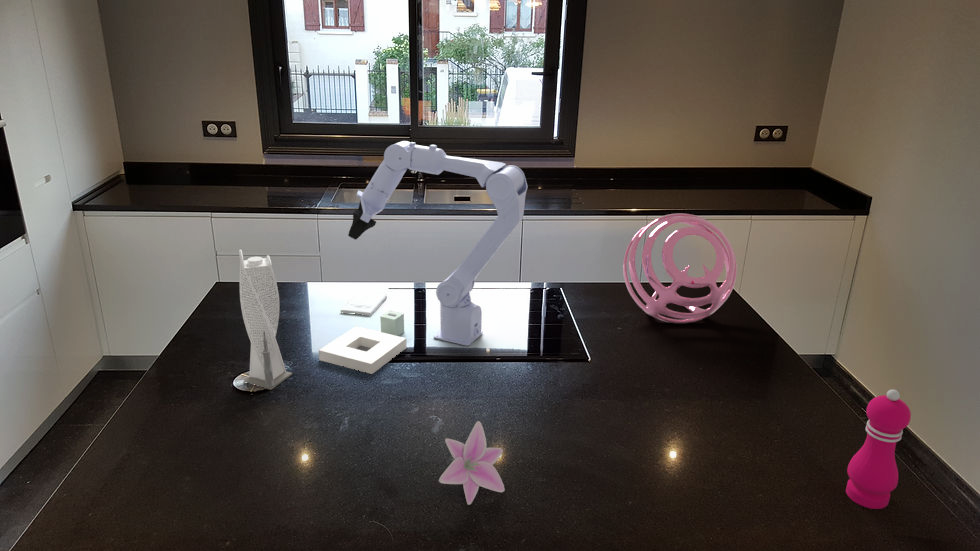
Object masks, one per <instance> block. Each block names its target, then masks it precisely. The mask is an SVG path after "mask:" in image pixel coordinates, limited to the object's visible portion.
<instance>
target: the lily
mask: <svg viewBox="0 0 980 551" xmlns="http://www.w3.org/2000/svg"><path fill="white" fill-rule="evenodd" d="M444 441H445V444H446V446H447V448H448V451H449V453H450V454H451V456H452V458H453V461H452V462H451V463H450V464H449V466H448V467H446V469H445V470H444V472H443V473H442V474H441V475H440V476H439V479H438V482H439V483H440V484H444V485H446V484H447V485H462V486H463V491H464V492H463V493H464V495H465V499H466V500H465V501H466V503H467V505H468V506H469V505H471V504H472V503H473V502H474V499H475V498H476V495H477V494H478V491H479V488H480V487H482V488H483V489H488V490H490V491H494V492H497V493H503V492H505V490H506V489H505V485H504V483H503V480H502V478H501V476H500V474H499V472H498V470H497V469H496V467H494V464H495V463H497V461H498V460H499V458H500V457H501V456H502V455H503V452H504V449H503V448H500V447H487V438H486V435H485V430H484V427H483V424H482V423H481V421H479V420H478V421H477V422H476V423H475V424H474V426H473V427H472V429H471V431H470V433H469V435H468V437H467V439H466V441H465V443H463V442H461V441H458V440H456V439H452V438H448V437H447V438H445V440H444Z"/></svg>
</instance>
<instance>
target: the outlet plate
mask: <svg viewBox="0 0 980 551" xmlns="http://www.w3.org/2000/svg"><path fill="white" fill-rule="evenodd" d="M406 349H408V348H407V337H403V336H395V335H391V334H387V333H383V332H381V331H378V330H375V329H369V328H366V327H361V326H357V325H356V326H354V327H353V328H351V329H349V330H348V331H346V332H345V333H343V334H341V335H340V336H338V337H337V338H335V339H334V340H332V341H331V342H329V343H327V344H326V345H325V346H324V345H323V347H321V348H320V349H318V360H319V361H321V362H325V363H329V364H333V365H336V366H339V367H343V366H344V367H343V368H347V369H351V370H354V369H355V370H354V371H358V370H359V371H360V372H362V373H365V372H366V373H365V374H370V375H373V374H374V373H375V372H377V371H378V370H380V369H381V368H382V367H384V366H385V365H386V364H387V363H389V362H390V361H392V358H393V359H394V358H395V357H397V356H398V355H399V354H401V353H402V352H403V351H404V350H406ZM400 352H401V353H400ZM396 355H397V356H396ZM359 371H358V372H359Z"/></svg>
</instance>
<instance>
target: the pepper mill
mask: <svg viewBox="0 0 980 551" xmlns="http://www.w3.org/2000/svg"><path fill="white" fill-rule="evenodd" d="M900 397H901V396H900V392H899V391H898V390H897V389H894V388H893V389H888V391H887V392H886V395H877V396H875V397H873V398H872V399H871V400H870V401H869V402H868V404H867V406H866V410H865V411H866V412H865V413H866V416H867V418H868V420H867V422H866V425H865V432H866V433H867V434H866V439H865V440H864V442H863V445H862V446H861V447H860V449H859V450H857V452H856V453H855V454H854V455H853V456H852V457H851V459H850V461H849V463H848V465H847V469H846V470H847V475H848V478H849V479H848V480H847V484H846V488H845V493H846V495H847V497H848V498H849V499H850V500H851V501H852V502H854V503H855V504H857V505H859V506H861V507H864V508H866V509H870V510H871V509H873V510H880V509H884V508H886V507H887V506H888V505H889V502H890V500H891V499H890V498H891V492H892V491H894V490H895V489H896V488H897V486H898V482H899V469H898V464H897V462H896V455H895V453H896V452H895V451H896V445H897V442H899V441H901V440H902V435H903V434H904V431H903V430H904V429H905V428H907V427H908V426H909V425H910V421H911V419H912V418H911V416H912V414H911V410H910V407H909V406H908V405H907V403H905V401H903V400H902V399H900Z"/></svg>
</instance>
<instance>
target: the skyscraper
mask: <svg viewBox="0 0 980 551" xmlns="http://www.w3.org/2000/svg"><path fill="white" fill-rule="evenodd" d="M238 254H239V301H240V308H241V314H242V319H243V323H244V326H245V329H246V333H247V336H248V339H249V340H250V354H249V355H250V356H249V357H250V358H249V377H247V378H246V379H245V380H243V383H244V382H247V383H252V384H255V385H259V386H262V387H265V388H264V389H266V388H267V389H266V390H270V391H271V390H273V389H274V388H276V387H277V386H279V385H280V384H281V383H282V382H284V381H286V380H287V379H289V378H290V377H291V376H292V375H293V372H291V371H287V370H286V367H285V364H284V363H285V362H284V359H283V358H282V354H281V351H280V346H279V344H278V342H277V338H276V336H277V332H278V331H277V330H278V326H279V319H280V294H279V289H278V288H279V287H278V283H277V280H276V275H275V271H274V268H273V264H272V260H271V257H270V255H268V254H267V255H266V257H264V258H263V257H262V256H251V257H248V258H247V259H245V260H244V255H243V251H242V249H239V250H238ZM262 387H261V388H262Z"/></svg>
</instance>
